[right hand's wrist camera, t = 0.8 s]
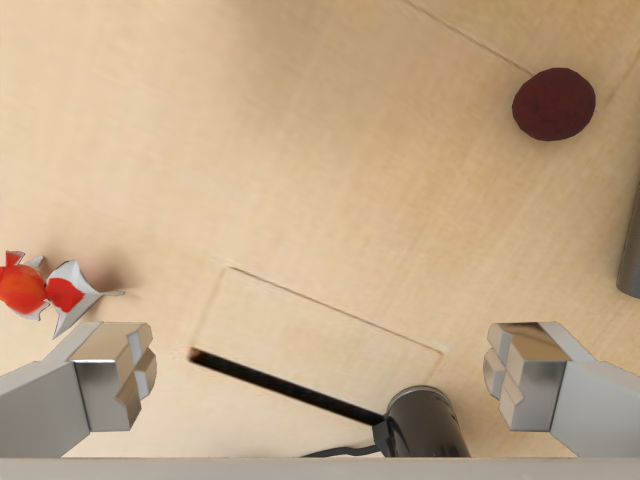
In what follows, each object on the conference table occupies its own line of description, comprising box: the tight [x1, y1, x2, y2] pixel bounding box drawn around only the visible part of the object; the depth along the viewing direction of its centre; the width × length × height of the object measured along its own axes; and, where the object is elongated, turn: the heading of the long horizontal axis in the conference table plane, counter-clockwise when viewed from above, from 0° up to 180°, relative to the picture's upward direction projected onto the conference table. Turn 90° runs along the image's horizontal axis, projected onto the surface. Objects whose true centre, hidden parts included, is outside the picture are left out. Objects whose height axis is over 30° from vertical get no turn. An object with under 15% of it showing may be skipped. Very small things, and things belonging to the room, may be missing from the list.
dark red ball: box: [512, 68, 595, 141], centre depth 45 cm, size 7×8×7 cm
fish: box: [0, 251, 125, 340], centre depth 52 cm, size 11×16×10 cm
